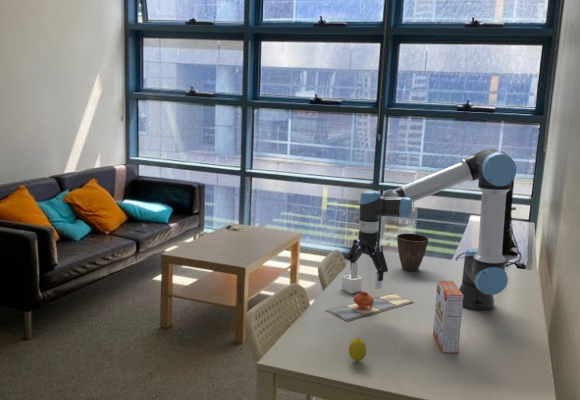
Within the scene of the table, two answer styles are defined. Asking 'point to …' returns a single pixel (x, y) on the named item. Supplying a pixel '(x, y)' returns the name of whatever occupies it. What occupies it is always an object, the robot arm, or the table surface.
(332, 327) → the table surface
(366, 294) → the pot
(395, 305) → the board
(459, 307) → the cracker box
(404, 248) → the plant pot
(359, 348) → the lemon
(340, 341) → the table surface
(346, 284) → the die
